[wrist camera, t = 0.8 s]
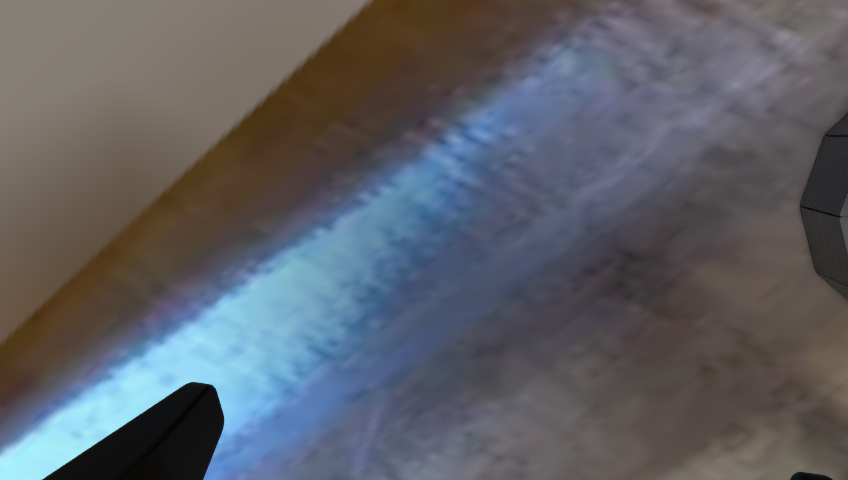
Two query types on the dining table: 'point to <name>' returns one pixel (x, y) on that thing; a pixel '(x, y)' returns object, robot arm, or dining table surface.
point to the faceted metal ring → (829, 208)
